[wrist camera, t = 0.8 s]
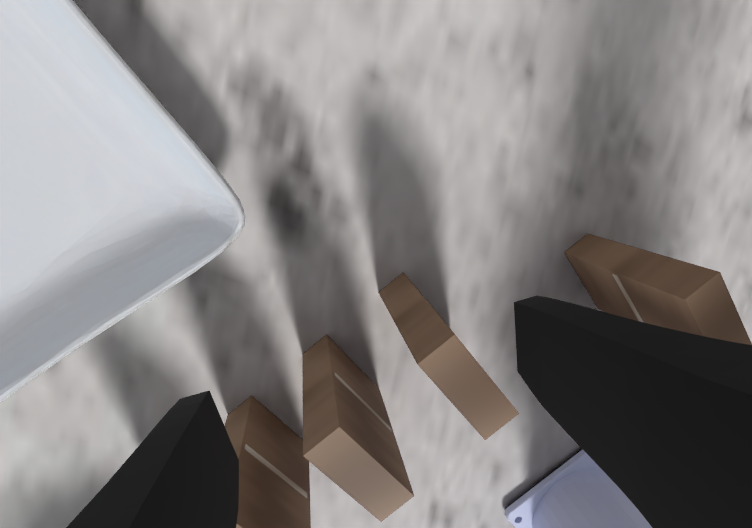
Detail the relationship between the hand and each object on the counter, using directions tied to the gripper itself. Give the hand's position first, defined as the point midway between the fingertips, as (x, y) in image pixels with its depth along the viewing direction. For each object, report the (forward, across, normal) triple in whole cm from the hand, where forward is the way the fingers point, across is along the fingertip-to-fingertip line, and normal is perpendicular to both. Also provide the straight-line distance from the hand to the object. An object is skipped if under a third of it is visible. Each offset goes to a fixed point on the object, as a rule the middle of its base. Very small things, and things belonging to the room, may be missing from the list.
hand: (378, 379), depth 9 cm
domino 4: (+10, -14, +5) cm, 18 cm away
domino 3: (+10, -4, +4) cm, 12 cm away
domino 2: (+10, +1, +7) cm, 12 cm away
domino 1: (+10, +5, +9) cm, 14 cm away
